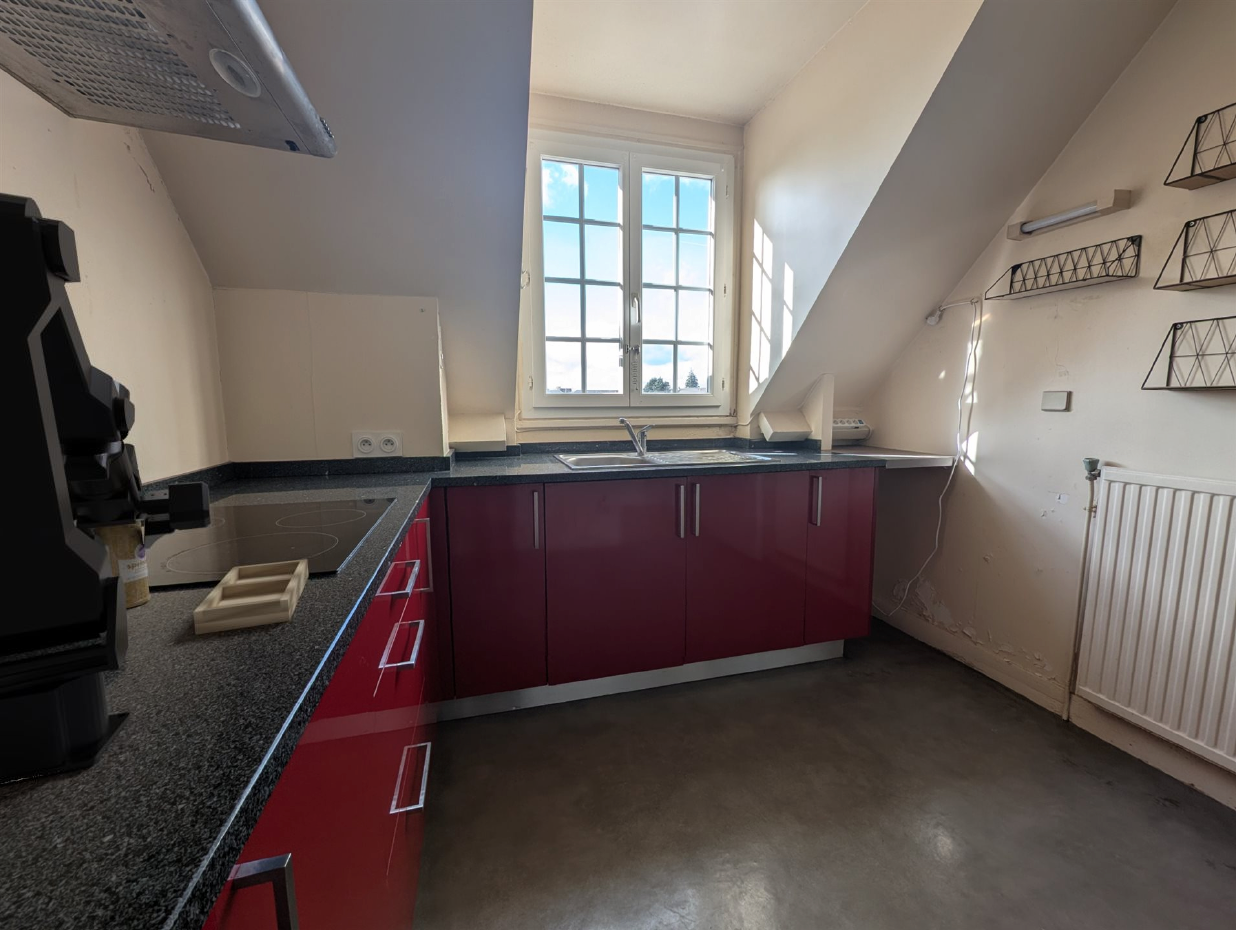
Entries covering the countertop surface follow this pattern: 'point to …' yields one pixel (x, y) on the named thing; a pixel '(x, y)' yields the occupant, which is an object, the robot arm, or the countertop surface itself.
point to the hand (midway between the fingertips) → (123, 548)
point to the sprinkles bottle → (128, 559)
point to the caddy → (252, 596)
